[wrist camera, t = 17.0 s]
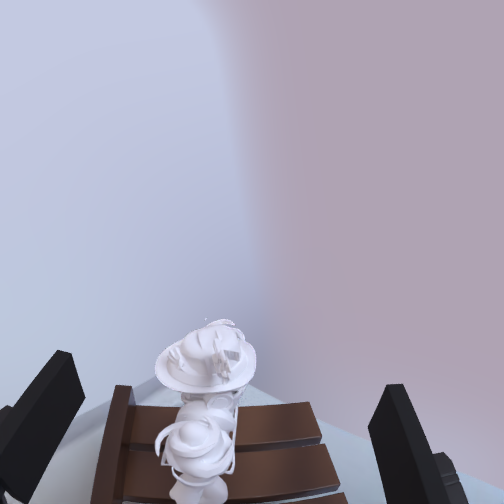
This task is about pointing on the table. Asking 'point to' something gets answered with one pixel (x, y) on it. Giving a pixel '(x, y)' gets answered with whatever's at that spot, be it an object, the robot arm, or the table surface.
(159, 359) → the hat wearing toy figure
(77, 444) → the table surface
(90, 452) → the table surface
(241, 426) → the rack
